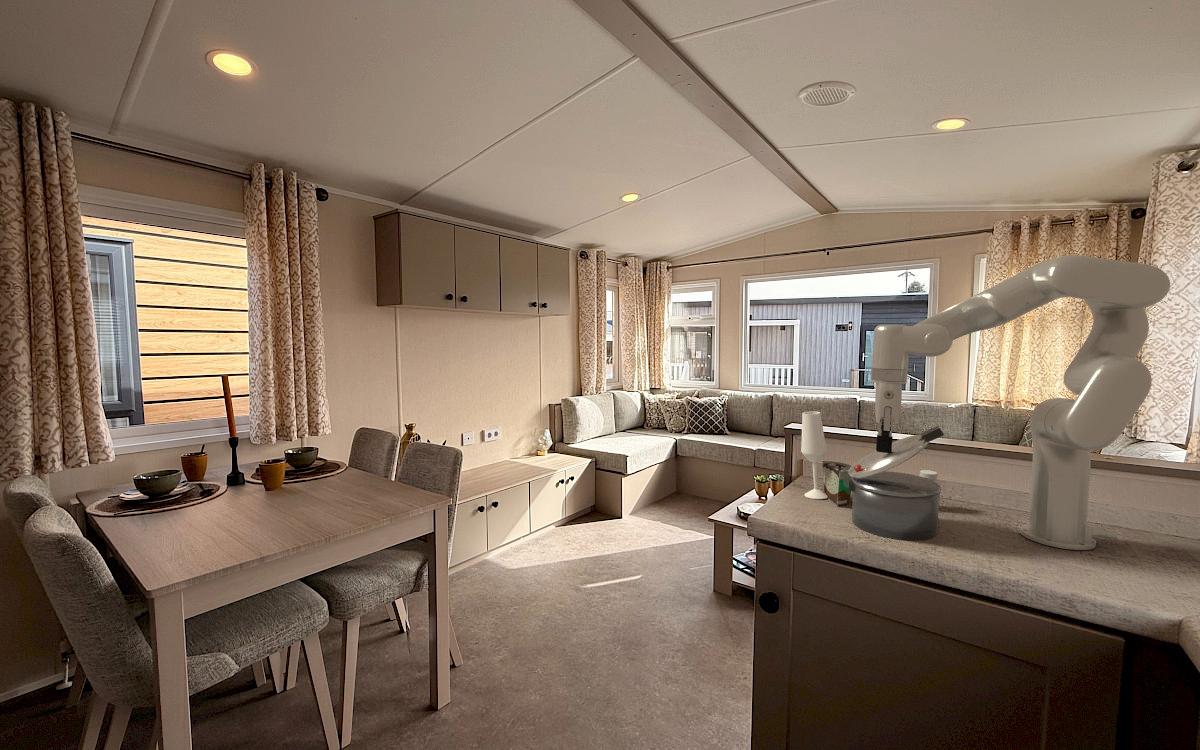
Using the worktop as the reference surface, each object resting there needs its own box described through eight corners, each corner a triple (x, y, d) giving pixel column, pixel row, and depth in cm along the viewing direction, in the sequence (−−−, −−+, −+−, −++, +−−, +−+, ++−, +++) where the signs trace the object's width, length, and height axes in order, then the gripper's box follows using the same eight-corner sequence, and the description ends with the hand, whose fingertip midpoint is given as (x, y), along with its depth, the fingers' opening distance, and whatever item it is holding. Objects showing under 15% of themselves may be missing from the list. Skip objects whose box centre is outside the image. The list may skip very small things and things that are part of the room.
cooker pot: (933, 518, 128) (934, 475, 127) (945, 546, 111) (947, 497, 110) (848, 508, 136) (849, 467, 135) (848, 532, 119) (849, 487, 119)
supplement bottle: (926, 511, 132) (927, 475, 132) (910, 504, 138) (911, 470, 137) (944, 510, 133) (945, 474, 133) (928, 503, 139) (929, 468, 138)
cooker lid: (937, 426, 126) (931, 418, 126) (950, 441, 109) (943, 432, 109) (850, 466, 135) (845, 458, 136) (850, 486, 118) (844, 477, 119)
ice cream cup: (863, 508, 136) (863, 471, 135) (839, 508, 136) (840, 471, 135) (842, 494, 148) (843, 460, 147) (821, 494, 148) (821, 460, 147)
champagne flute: (825, 490, 149) (820, 410, 147) (832, 498, 143) (827, 413, 141) (801, 492, 150) (796, 411, 148) (807, 499, 144) (801, 415, 142)
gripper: (910, 379, 113) (904, 460, 115) (904, 374, 126) (899, 447, 128) (872, 378, 116) (866, 456, 118) (870, 373, 130) (865, 444, 131)
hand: (883, 451), depth 123 cm, fingers closed
